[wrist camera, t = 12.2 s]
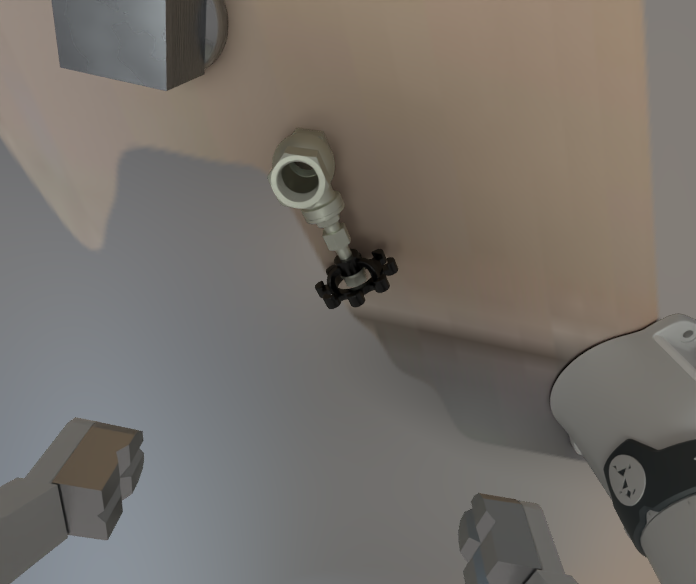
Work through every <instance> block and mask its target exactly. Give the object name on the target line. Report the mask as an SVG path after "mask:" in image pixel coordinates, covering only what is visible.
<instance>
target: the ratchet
mask: <svg viewBox="0 0 696 584" xmlns="http://www.w3.org/2000/svg"><path fill="white" fill-rule="evenodd" d="M227 35H228V16H227V10H226V6H225V3H224V0H207V5H206V37H205V68H207V67H209V66H210V65H211V64H213V63H214V62H215V61H216V60H217V58H218V57H219V56H220V54H221V52H222V51H223V49H224V46H225V43H226V39H227Z"/></svg>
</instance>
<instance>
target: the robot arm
mask: <svg viewBox="0 0 696 584" xmlns="http://www.w3.org/2000/svg"><path fill="white" fill-rule="evenodd" d="M550 406H551V411H552V413H553V415H554V417H555V419H556V420H557V421H558V422H559V423H560V425H561V426H562V427H563V428H564V429H565V431H566V432H567V433H568V434H569V438H570V442H571V445H572V447H573V448H574V450H575V451H576V453H577V454H579V455H583V456H584V458H585V460H586V461H587V463H588V464H589V466H590V467H591V469H592V470H593V472H594V474H595V475H596V477H597V478H598V480H599V481H600V483H601V484H602V486H603V487H604V489H605V490H606V492H607V493H608V495H609V496H610V498H611V499H612V501H613V505H614V508H615V510H616V512H617V514H618V516H619V518H620V520H621V522H622V524H623V525H624V530H625V531H626V533H627V535H628V536H629V538H630V539H631V540H632V542H633V543H634V545H635V547H636V548H637V550H638V551H639V552H640V553H641V554H642V555H644V556H645V557H647V558H648V560H649V562H650V564H651V566H652V568H653V570H654V572H655V573H656V575H657V577H658V579H659V581H660V583H661V584H696V320H695V319H693V318H691V317H688V316H686V315H683V314H674V315H670V316H668V317H665V318H663V319H661V320H659V321H657V322H656V323H654V324H652V325H650V326H649V327H647V328H645V329H644V330H641V331H639V332H636V333H632V334H629V335H625V336H621V337H618V338H615V339H612V340H609V341H606V342H604V343H602V344H599V345H597V346H595V347H593V348H592V349H590V350H588V351H586V352H585V353H583V354H582V355H580V356H579V357H578V358H576V359H575V360H574V361H573V362H572V363H570V364H569V365H568V366H567V367H566V368H565V370H564V371H563V372H562V373H561V374H560V376H559V377H558V379H557V380H556V382H555V384H554V386H553V389H552V392H551V397H550ZM142 442H143V431H139V430H135V429H130V428H125V427H120V426H115V425H110V424H106V423H101V422H97V421H91V420H86V419H81V418H76V417H75V418H74V419H73V420H71V421H70V422H68V423H67V424H66V426H65V427H64V428H63V430H62V431H61V432H60V433H59V435H58V436H57V437H56V439H55V440H54V441H53V442H52V444H51V445H50V446H49V448H48V449H47V450H46V451H45V453H44V454H43V455H42V457H41V458H40V459H39V460H38V462H37V463H36V464H35V465H34V467H33V468H32V469H31V471H30V472H29V473H28V474H27V476H26V477H25V478H24V479H23V478H16V479H14V480H12V481H10V482H8V483H6V484H5V485H3V486H1V487H0V584H10V583H11V582H13V581H14V580H15V579H16V578H18V577H19V576H20V575H21V574H23V573H24V572H25V571H26V570H28V569H29V568H30V567H31V566H33V565H34V564H35V563H36V562H38V561H39V560H40V559H41V558H43V557H44V556H45V555H46V554H48V553H49V552H50V551H52V550H53V549H54V548H55V547H56V546H58V545H59V544H60V543H62V542H63V541H64V540H65V539H67V537H68V535H73V536H80V537H87V538H94V539H101V540H108V539H109V537H110V535H111V533H112V531H113V529H114V528H115V526H116V524H117V522H118V520H119V518H120V516H121V514H122V512H123V509H122V500H124V499H125V498H127V497H128V496H130V495H131V494H132V493H133V491H134V489H135V487H136V485H137V483H138V481H139V478H140V475H141V472H142V469H143V463H144V453H143V452H142V450H140V446H141V444H142ZM471 503H472V509H470V510H468V511H466V512H464V514H463V516H462V518H461V520H460V525H459V530H458V540H459V548H460V553H461V554H462V555H463V557H464V558H465V560H466V561H467V562H468V563H467V565H466V567H465V569H464V571H463V574H464V579H465V584H578V583H577V582H576V580H575V579H574V578H573V577H572V576H570V575H566V574H565V572H564V569H563V566H562V564H561V561H560V558H559V555H558V552H557V549H556V547H555V544H554V541H553V538H552V535H551V533H550V530H549V527H548V524H547V521H546V518H545V515H544V513H543V510H542V508H541V507H540V506H539V505H538V504H535V503H530V502H524V501H518V500H516V499H511V498H505V497H499V496H493V495H487V494H481V493H478V494H476V495H475V496H474V497H473V499H472V501H471Z"/></svg>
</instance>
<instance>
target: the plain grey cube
mask: <svg viewBox="0 0 696 584" xmlns="http://www.w3.org/2000/svg"><path fill="white" fill-rule="evenodd" d="M206 5H207V0H52V7H53V15H54V23H55V31H56V39H57V47H58V54H59V62H60V67H61V68H66V69H70V70H75V71H79V72H83V73H88V74H92V75H97V76H101V77H106V78H110V79H115V80H119V81H124V82H128V83H133V84H137V85H142V86H146V87H151V88H155V89H160V90H164V91H168V90H170V89H172V88H174V87H177V86H179V85H181V84H183V83H186V82H188V81H190V80H192V79H194V78H197V77H199V76H201V75H203V74H204V69H205V37H206Z"/></svg>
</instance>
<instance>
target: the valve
mask: <svg viewBox="0 0 696 584" xmlns="http://www.w3.org/2000/svg"><path fill="white" fill-rule="evenodd" d="M294 162H303V163H306V164H308V165H309V166H311V167H312V168H313V169H312V170H305V169H302V168H300V167H298V166H297V165H296V164H295V163H294ZM334 171H335V161H334V155H333V153H332V151H331V148H330V146H329V144H328V141H327V139H326V137H325V134H324V132H322V131H316V130H308V129H301V128H296V130H295V131H294V132H293V134H292V135H290V136H288V137H287V138H285V139H284V140H283V141H282V142H281V143H280V144H279V145H278V146H277V148H276V150H275V152H274V155H273V158H272V170H271V171H270V173H269V175H268V177H267V179H268V181H269V183H270V185H271V187H272V189H273V191H274V193H275V195H276V197H277V199H278V200H279V202H280V204H281V205H283V206H287V207H293V208H300V209H301V211H302V214H303V216H304V217H305V220H306V221H307V223H309V224H317V226H318V227H319V228H324V230H323V235H322V236H323V238H324V240H325V242H326V244H327V246H328V249H329V250H330V251H336V252H337V254H338V255H337V256H336V257H335V259H334V263H335V265H332V266H330V267H328V268H327V269H326V273H327V275H328V277H327V285H324V283H323V281H320V282H318V283H317V284H316V285H315V289H316V290H317V292H318V294H319V296H320V297H321V298H323V300H324V301H325V304H326V305H327V307H328V308H329V309H334V308H336V307H338V306H339V305H340V304H341V301H343V300H346V299H348V300H349V302H350V304H351V306H352V307H359V306H361V305H362V304H364V302H365V298H364V295H365V294H367V293H368V292H370V291H372V290H375V291H376V292H378V293H382V292H385V291H387V290H388V289H389V287H390V284H389V282H388V280H387V277H386V275H387V276H390V275H393V274H395V273H396V272H397V271H398V267H397V264H396V262H395V259H394V258H392V257H389V258H387V259H386V256H385V254H384V252H383V250H382V249H377V250H375V251H373V252H372V255H373V258H372V259H366V258H362V256H361V254H360V253H359V252H358V251H357V250H356V249H350V248H349V246H348V244H349V243H350V242H351V238H350V235H349V233H348V231H347V229H346V226H345V224H344V223H339V222H338V220H339V219H340V212H341V211H342V210H343V209H344V206H345V204H344V202H343V199H342V197H341V195H340V193H339V192H338V191H333V189H332V186H331V181H332V179H333V176H334ZM386 262H387V264H385V263H386ZM384 264H385V265H384ZM365 269H368V270H369V272H370V274H371V278H370V279H369V280H368V281H366V279H367V276H366V272H365ZM343 279H344V280H345V282H346V284H347V286H349V287H354V288H350V289H340V288H338V286H339V284H340V282H341V281H342V280H343ZM365 281H366V282H365ZM363 282H365V283H363ZM362 283H363V284H362ZM355 286H357V287H355ZM331 294H332V295H331Z"/></svg>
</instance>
